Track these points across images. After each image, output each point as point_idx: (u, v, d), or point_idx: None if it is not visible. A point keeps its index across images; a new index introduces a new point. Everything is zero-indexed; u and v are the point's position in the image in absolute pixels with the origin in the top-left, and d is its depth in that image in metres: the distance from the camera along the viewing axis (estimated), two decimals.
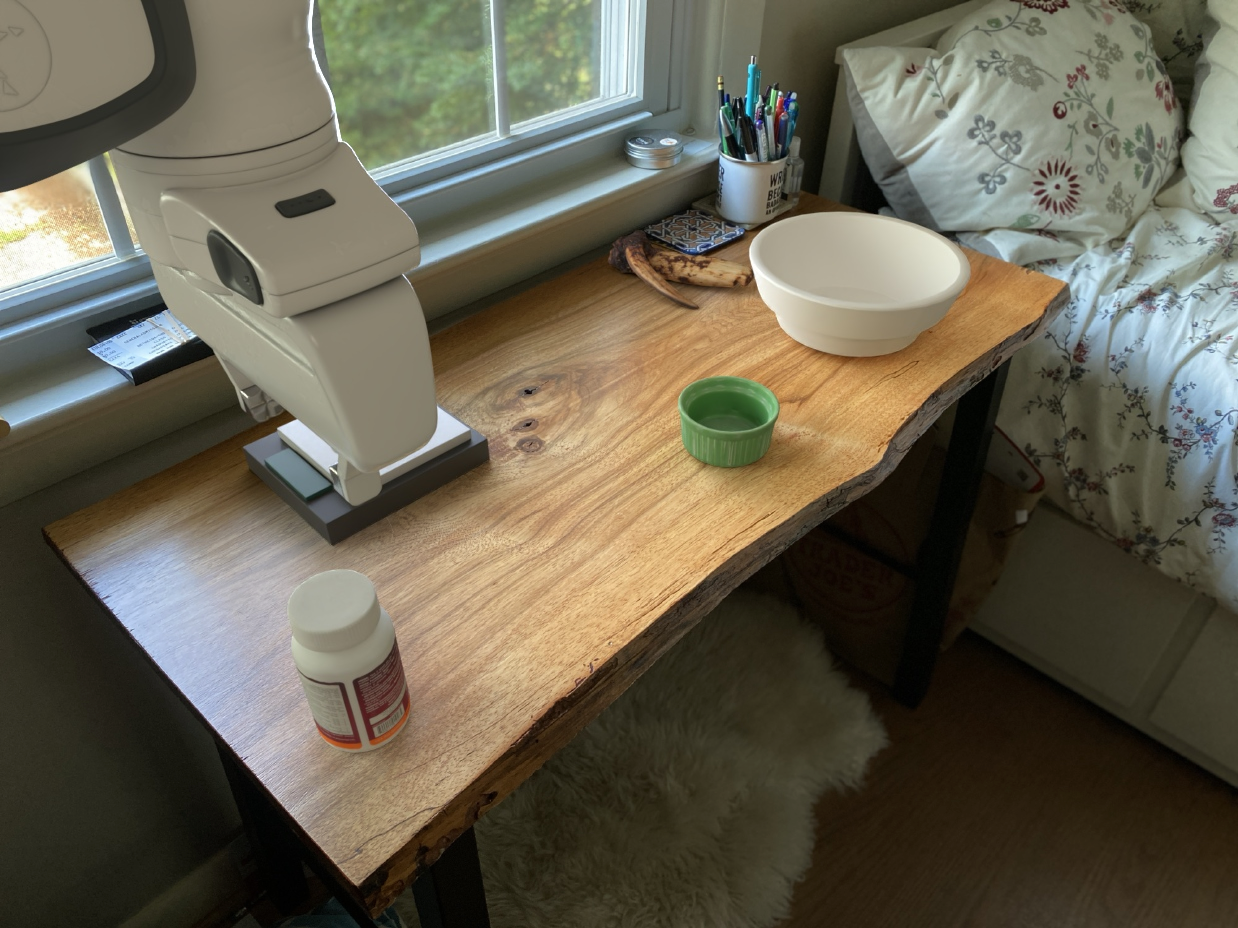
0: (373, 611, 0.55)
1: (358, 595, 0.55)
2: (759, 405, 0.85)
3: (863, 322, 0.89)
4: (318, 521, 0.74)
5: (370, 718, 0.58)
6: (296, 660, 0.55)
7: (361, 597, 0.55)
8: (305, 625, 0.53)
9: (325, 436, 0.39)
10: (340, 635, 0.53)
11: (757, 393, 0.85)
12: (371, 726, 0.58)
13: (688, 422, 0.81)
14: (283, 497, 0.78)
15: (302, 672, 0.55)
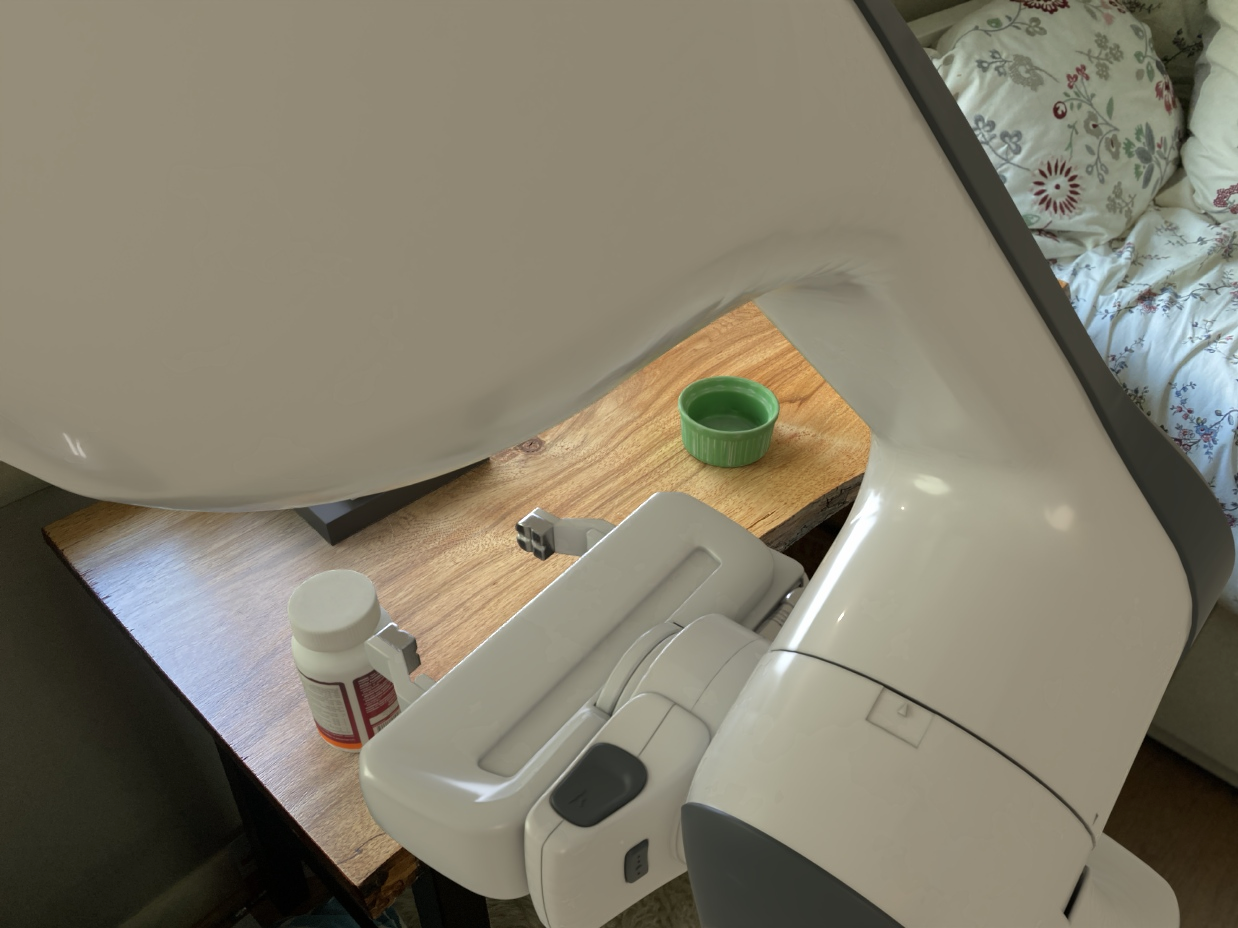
0: (373, 611, 0.55)
1: (359, 595, 0.55)
2: (759, 405, 0.85)
3: None
4: (318, 521, 0.74)
5: (370, 718, 0.58)
6: (296, 660, 0.55)
7: (361, 597, 0.55)
8: (306, 625, 0.53)
9: (423, 710, 0.35)
10: (340, 635, 0.53)
11: (757, 393, 0.85)
12: (371, 726, 0.58)
13: (688, 422, 0.81)
14: None
15: (302, 672, 0.55)
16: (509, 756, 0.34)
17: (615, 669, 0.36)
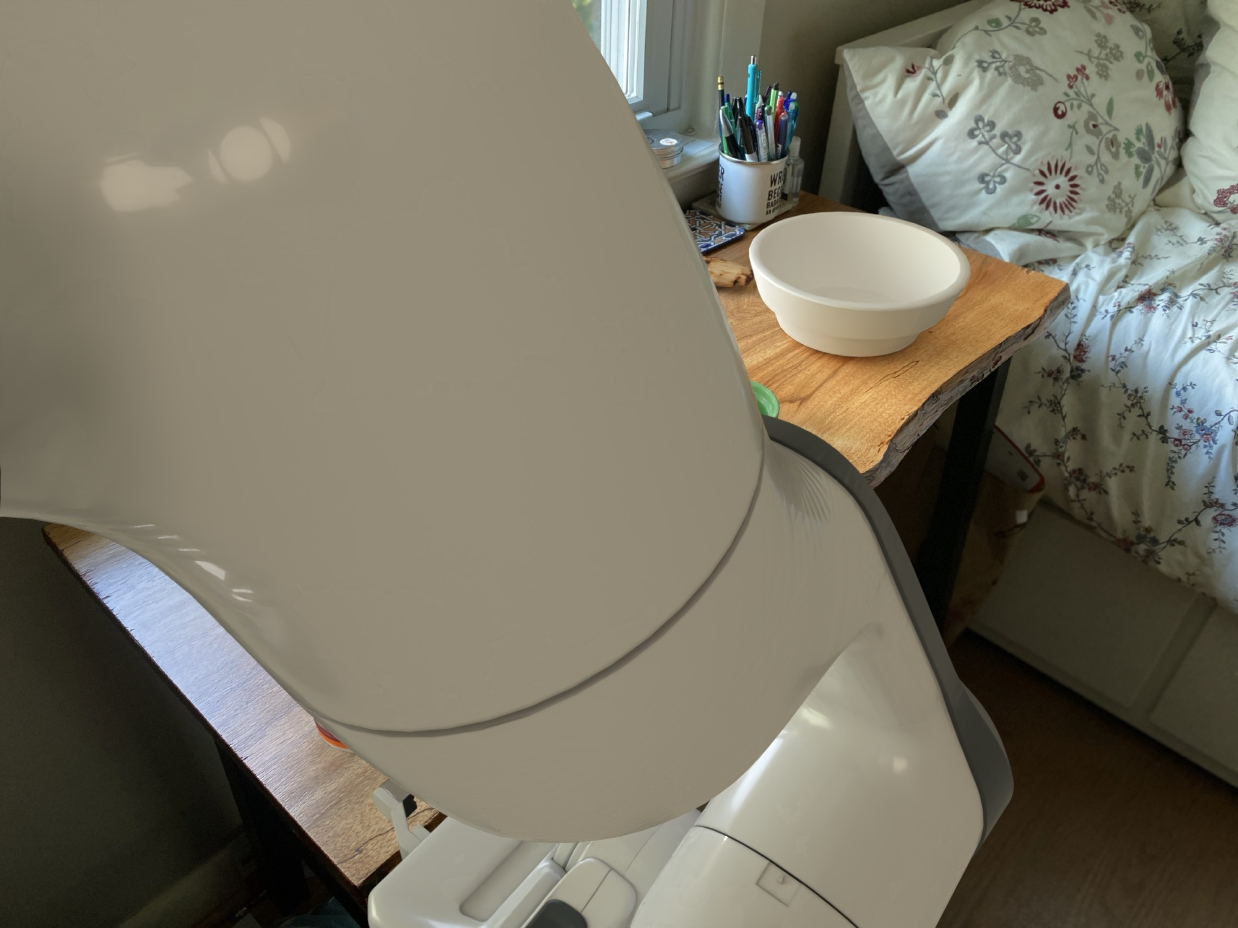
0: None
1: None
2: (759, 405, 0.85)
3: (863, 322, 0.89)
4: None
5: None
6: None
7: None
8: None
9: (418, 860, 0.45)
10: None
11: (757, 393, 0.85)
12: None
13: None
14: None
15: None
16: (484, 902, 0.44)
17: None
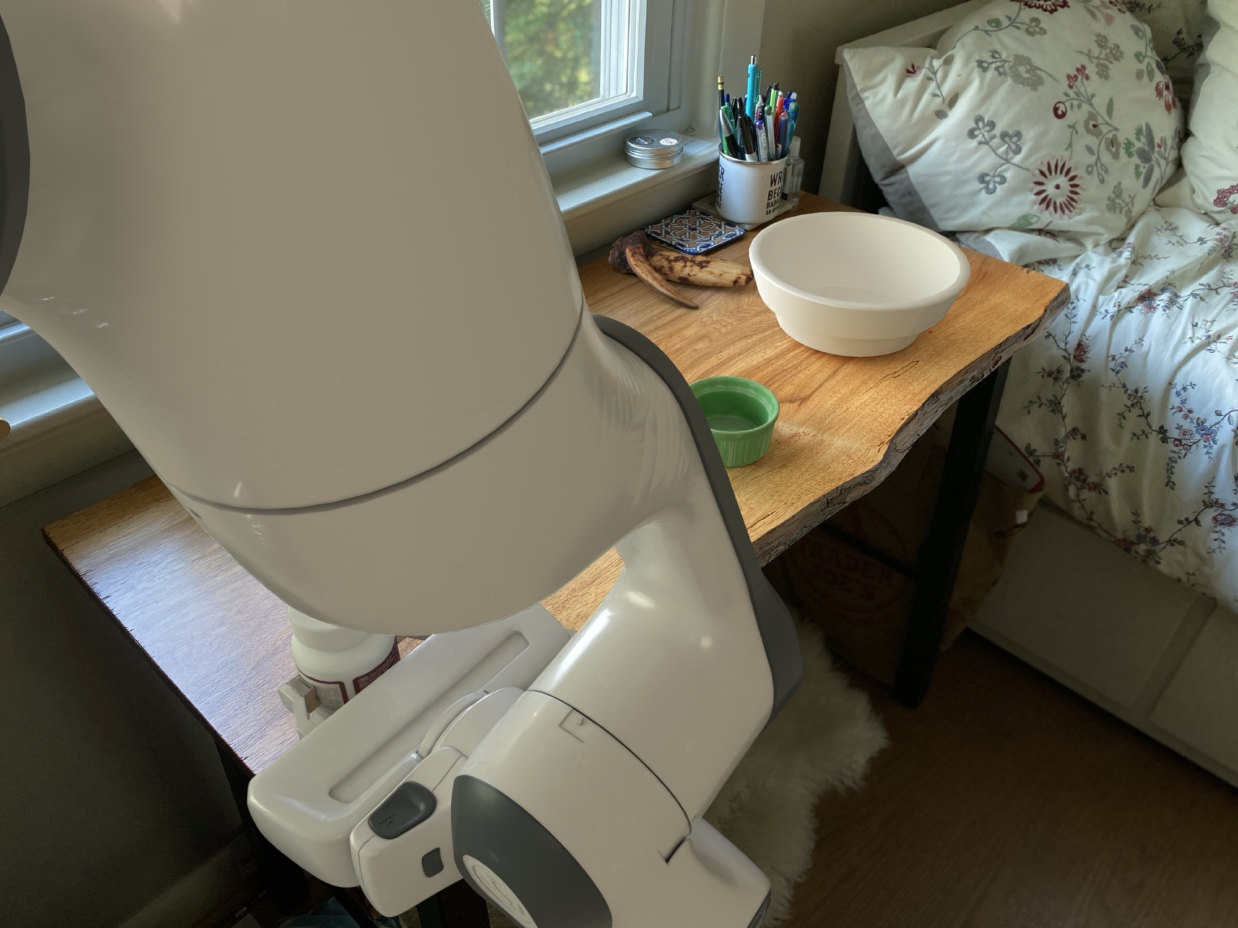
0: None
1: None
2: (759, 405, 0.85)
3: (863, 322, 0.89)
4: None
5: None
6: (296, 658, 0.55)
7: None
8: (306, 623, 0.53)
9: (296, 754, 0.50)
10: (341, 633, 0.53)
11: (757, 393, 0.85)
12: None
13: None
14: None
15: (302, 671, 0.55)
16: (352, 788, 0.49)
17: (431, 727, 0.51)
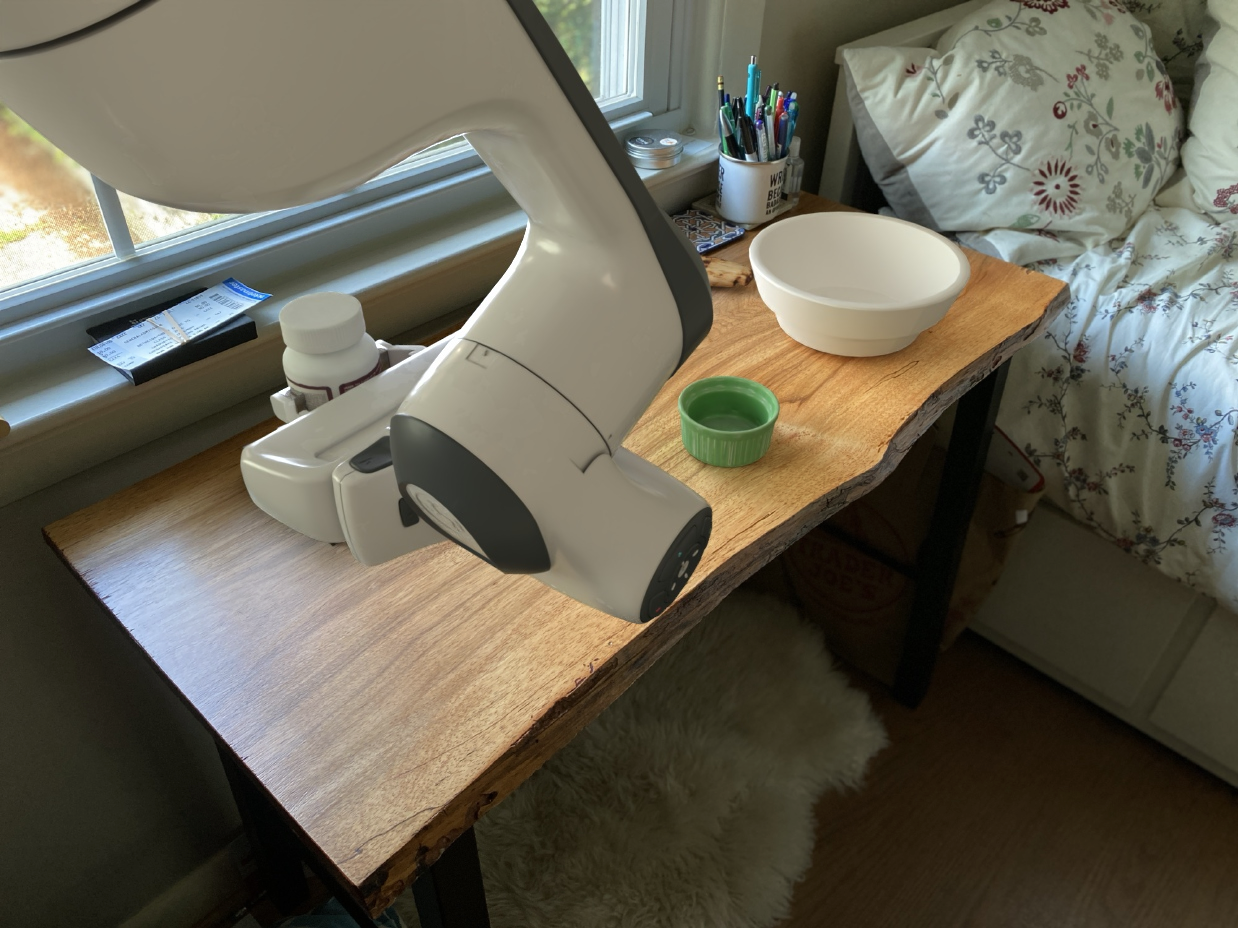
0: (358, 321, 0.59)
1: (345, 307, 0.60)
2: (759, 405, 0.85)
3: (863, 322, 0.89)
4: None
5: None
6: (287, 368, 0.60)
7: (347, 309, 0.59)
8: (295, 325, 0.58)
9: (285, 430, 0.55)
10: (327, 334, 0.58)
11: (757, 393, 0.85)
12: None
13: (688, 422, 0.81)
14: None
15: (292, 379, 0.60)
16: (336, 453, 0.54)
17: None
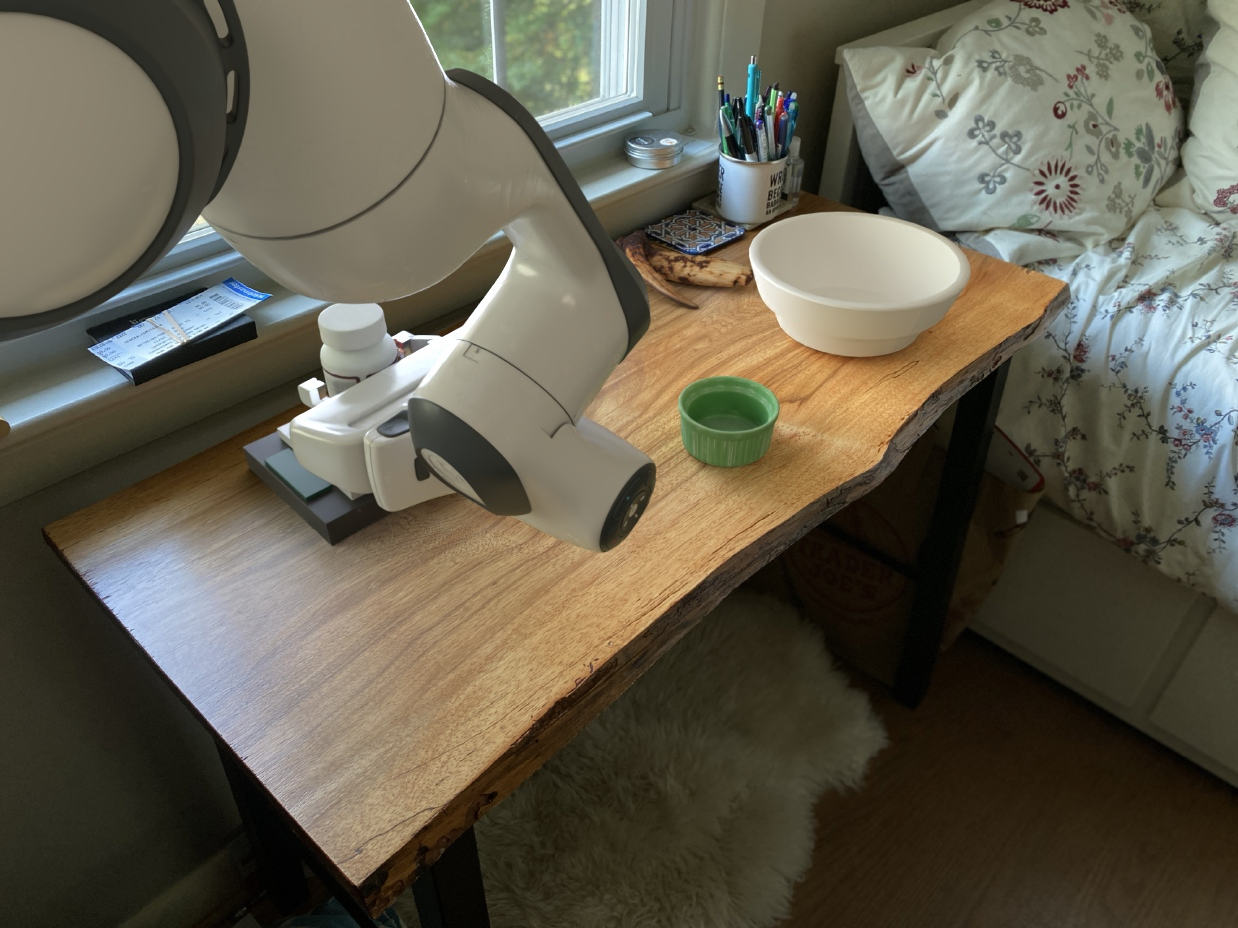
0: (381, 324, 0.74)
1: (370, 313, 0.74)
2: (759, 405, 0.85)
3: (863, 322, 0.89)
4: (318, 521, 0.74)
5: None
6: (324, 362, 0.75)
7: (372, 314, 0.74)
8: (332, 328, 0.73)
9: (323, 406, 0.70)
10: (357, 335, 0.73)
11: (757, 393, 0.85)
12: None
13: (688, 422, 0.81)
14: (283, 497, 0.78)
15: (328, 371, 0.75)
16: (364, 424, 0.68)
17: None
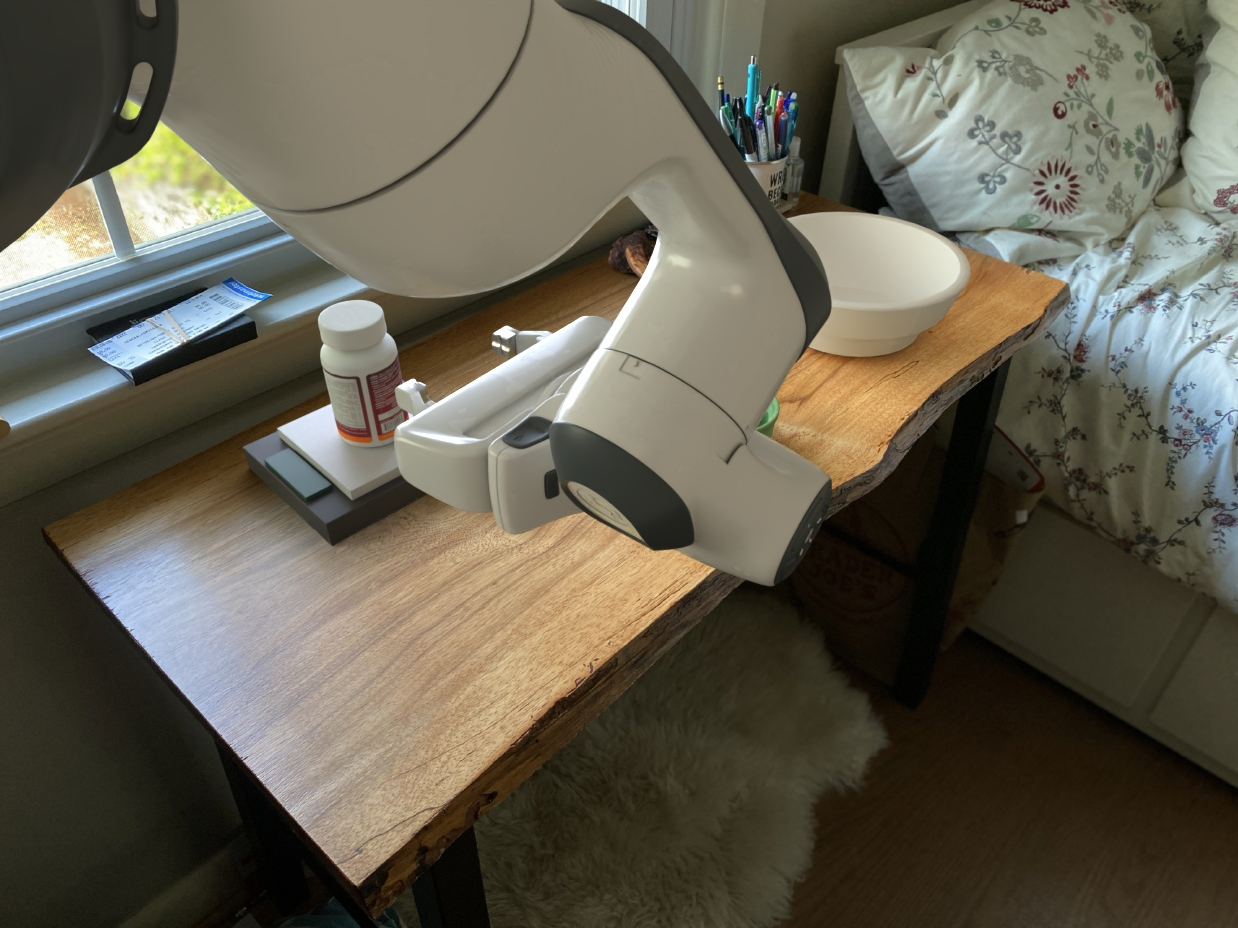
0: (381, 323, 0.74)
1: (370, 313, 0.74)
2: None
3: (863, 322, 0.89)
4: (318, 521, 0.74)
5: (378, 414, 0.77)
6: (324, 362, 0.75)
7: (372, 314, 0.74)
8: (332, 328, 0.73)
9: (432, 411, 0.60)
10: (357, 335, 0.73)
11: None
12: (379, 422, 0.77)
13: None
14: (283, 497, 0.78)
15: (328, 371, 0.75)
16: (481, 432, 0.59)
17: (545, 390, 0.60)
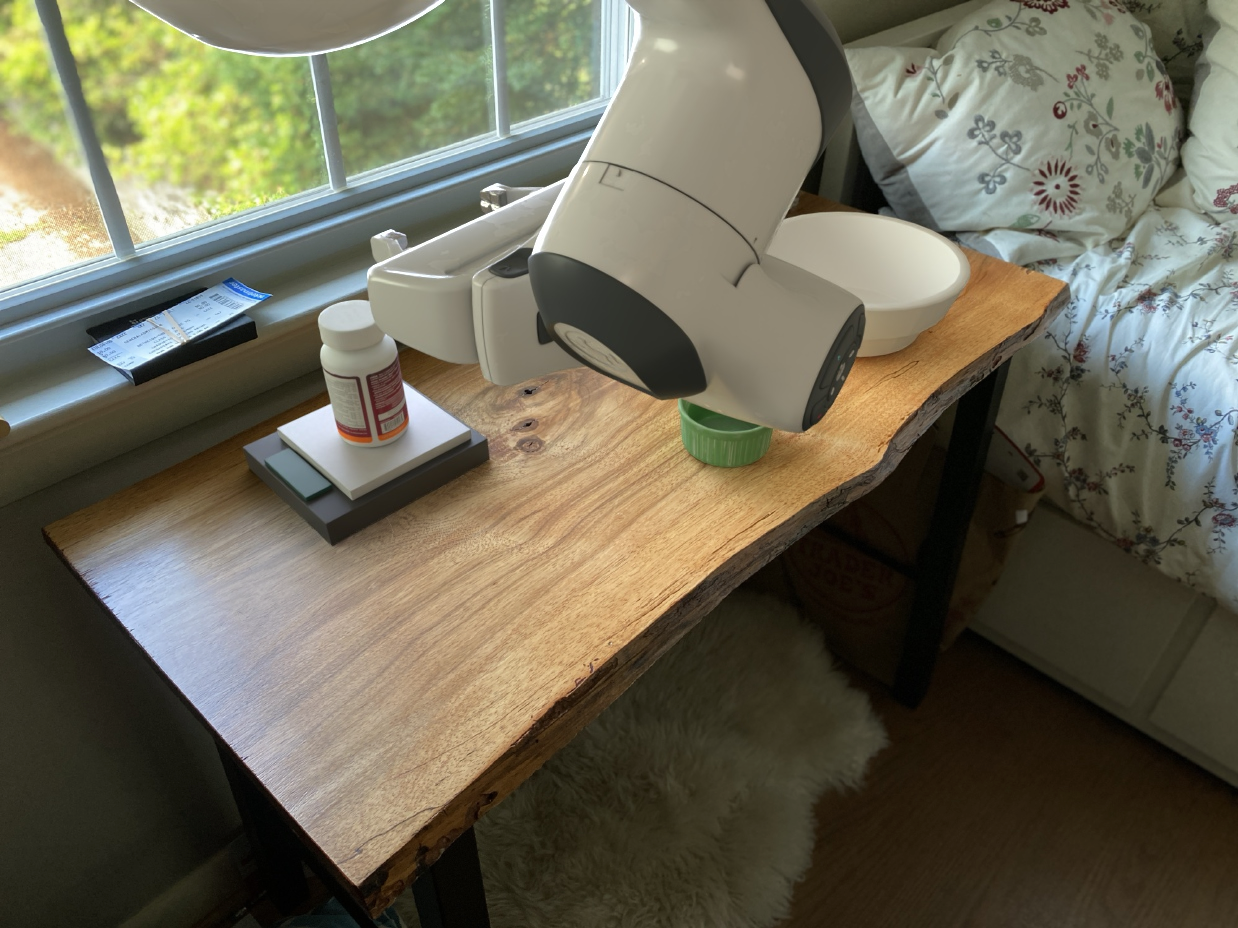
0: None
1: (370, 313, 0.74)
2: None
3: None
4: (318, 521, 0.74)
5: (378, 414, 0.77)
6: (324, 362, 0.75)
7: None
8: (332, 328, 0.73)
9: (410, 253, 0.53)
10: (357, 335, 0.73)
11: None
12: (379, 422, 0.77)
13: (688, 422, 0.81)
14: (283, 497, 0.78)
15: (328, 371, 0.75)
16: (465, 273, 0.52)
17: (538, 229, 0.53)
